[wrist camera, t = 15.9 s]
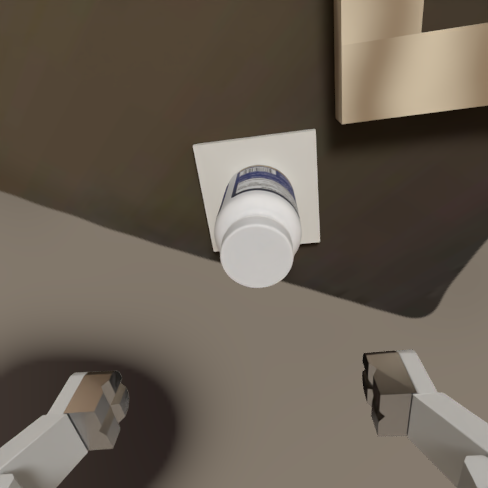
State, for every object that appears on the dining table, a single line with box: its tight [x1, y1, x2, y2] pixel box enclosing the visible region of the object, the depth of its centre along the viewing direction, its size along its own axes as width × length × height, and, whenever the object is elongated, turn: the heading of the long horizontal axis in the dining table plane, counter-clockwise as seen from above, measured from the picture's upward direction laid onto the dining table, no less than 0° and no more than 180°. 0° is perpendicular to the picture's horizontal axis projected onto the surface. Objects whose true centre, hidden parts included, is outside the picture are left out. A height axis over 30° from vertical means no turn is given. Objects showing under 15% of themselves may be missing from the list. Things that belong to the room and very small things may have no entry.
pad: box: [193, 129, 320, 252], centre depth 27 cm, size 9×9×1 cm
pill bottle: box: [214, 164, 302, 288], centre depth 23 cm, size 5×5×10 cm
